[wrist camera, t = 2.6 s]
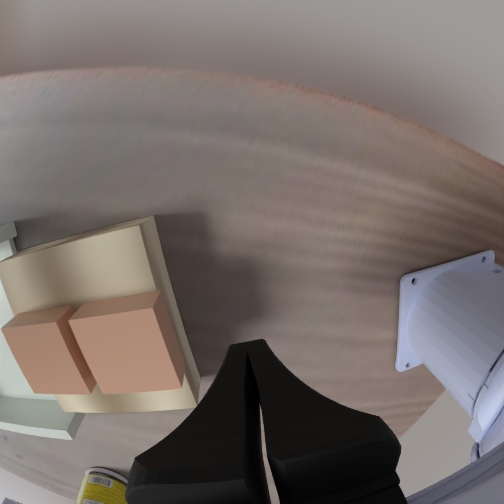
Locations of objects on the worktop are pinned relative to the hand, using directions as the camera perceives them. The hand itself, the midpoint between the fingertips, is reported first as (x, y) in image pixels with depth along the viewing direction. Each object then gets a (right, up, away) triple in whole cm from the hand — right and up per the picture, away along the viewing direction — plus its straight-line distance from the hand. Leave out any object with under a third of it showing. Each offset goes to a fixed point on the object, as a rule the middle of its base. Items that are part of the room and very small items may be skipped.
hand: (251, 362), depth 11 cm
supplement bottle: (-15, -20, +12) cm, 27 cm away
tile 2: (-11, -1, +3) cm, 12 cm away
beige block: (-9, 0, +6) cm, 11 cm away
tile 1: (-6, 0, +4) cm, 7 cm away
